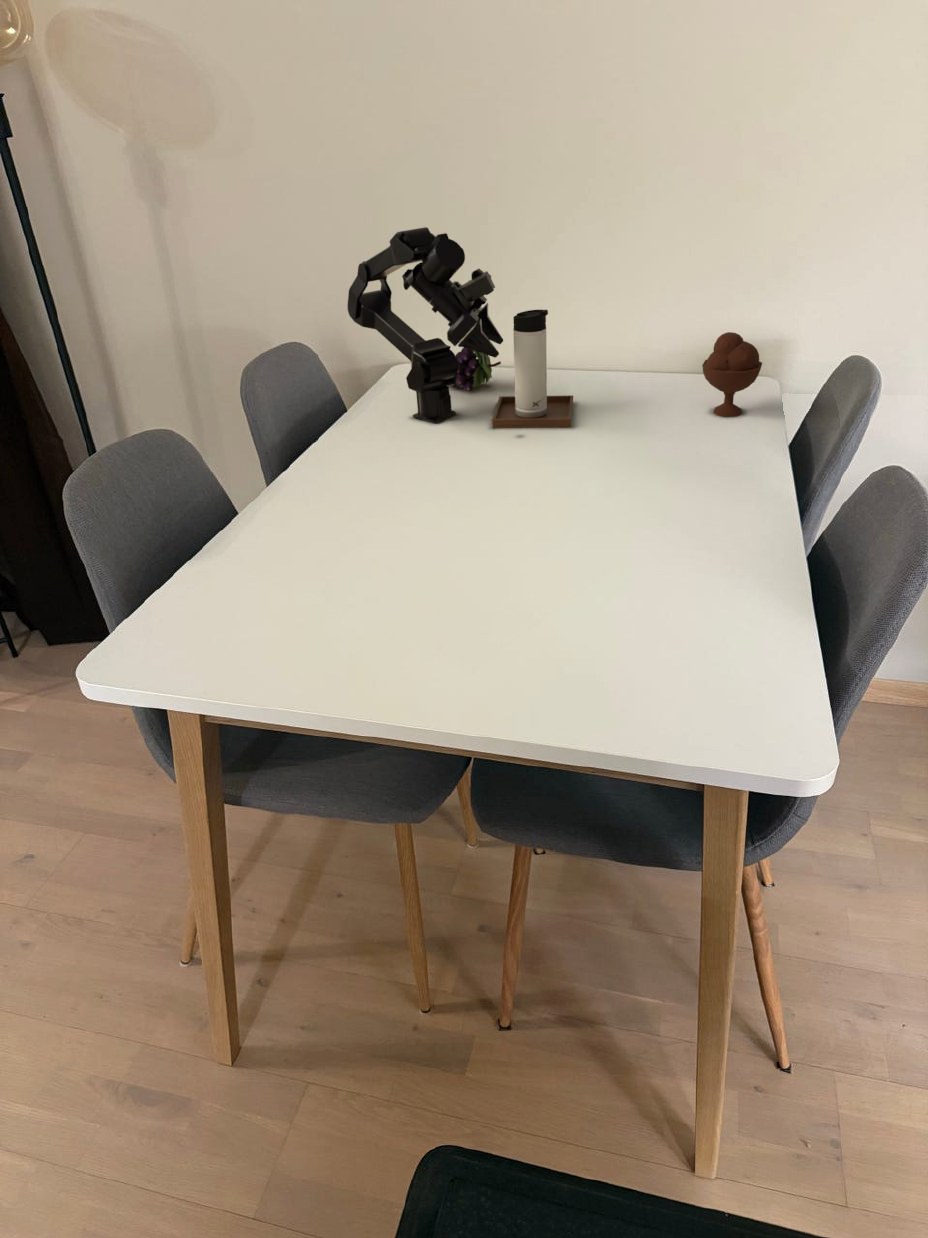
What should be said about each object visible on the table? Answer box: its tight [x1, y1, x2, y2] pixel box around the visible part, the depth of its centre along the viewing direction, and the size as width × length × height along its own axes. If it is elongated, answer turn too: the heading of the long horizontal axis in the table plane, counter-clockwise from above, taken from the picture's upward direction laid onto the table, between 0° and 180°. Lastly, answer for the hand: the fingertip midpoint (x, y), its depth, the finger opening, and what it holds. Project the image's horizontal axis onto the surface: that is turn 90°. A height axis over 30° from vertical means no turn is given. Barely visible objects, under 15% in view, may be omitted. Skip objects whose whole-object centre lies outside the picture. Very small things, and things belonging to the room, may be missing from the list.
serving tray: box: [491, 394, 574, 429], centre depth 180 cm, size 15×14×2 cm
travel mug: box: [512, 309, 549, 418], centre depth 175 cm, size 6×7×20 cm
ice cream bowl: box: [701, 331, 763, 418], centre depth 172 cm, size 11×11×15 cm
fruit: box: [450, 347, 502, 392], centre depth 195 cm, size 10×11×15 cm
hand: (499, 348), depth 174 cm, fingers open, 9 cm apart
